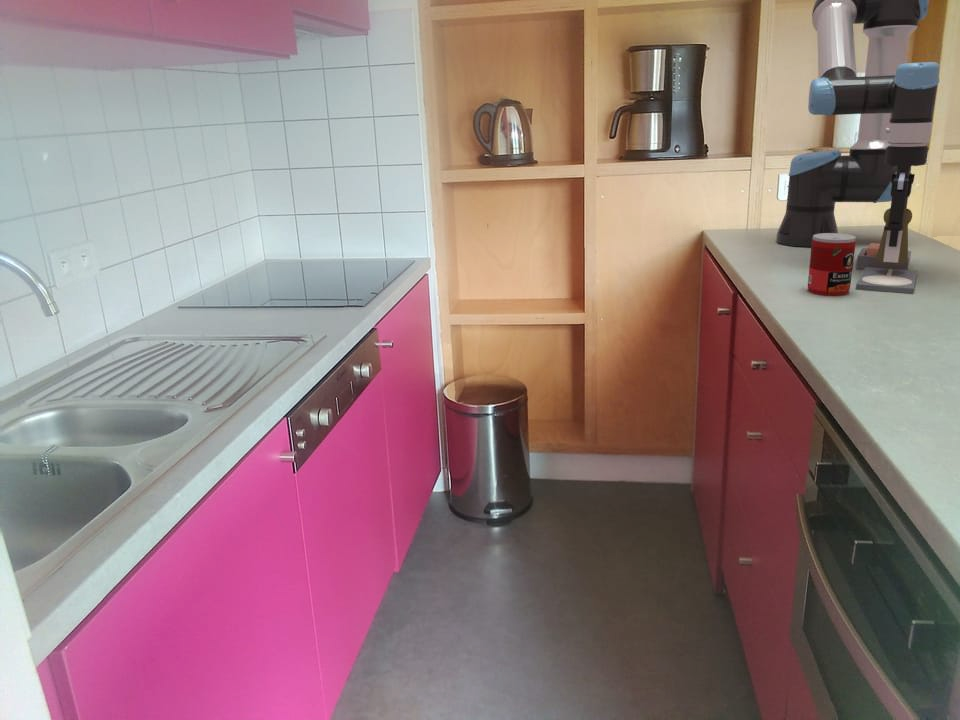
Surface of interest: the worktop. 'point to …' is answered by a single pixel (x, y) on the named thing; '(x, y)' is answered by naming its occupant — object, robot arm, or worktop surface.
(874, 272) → the slate board
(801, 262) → the worktop surface
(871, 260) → the button housing
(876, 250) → the button
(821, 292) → the canned food
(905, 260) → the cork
